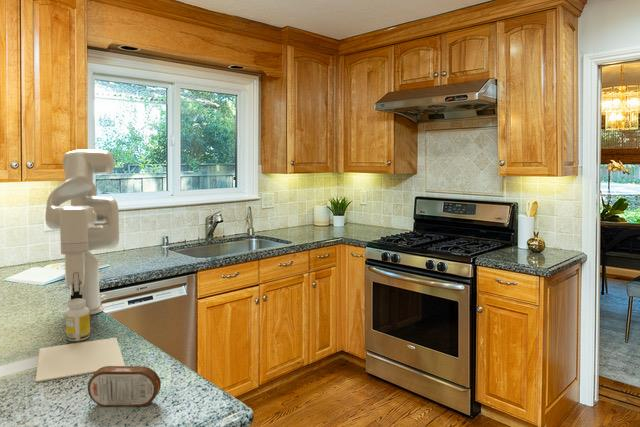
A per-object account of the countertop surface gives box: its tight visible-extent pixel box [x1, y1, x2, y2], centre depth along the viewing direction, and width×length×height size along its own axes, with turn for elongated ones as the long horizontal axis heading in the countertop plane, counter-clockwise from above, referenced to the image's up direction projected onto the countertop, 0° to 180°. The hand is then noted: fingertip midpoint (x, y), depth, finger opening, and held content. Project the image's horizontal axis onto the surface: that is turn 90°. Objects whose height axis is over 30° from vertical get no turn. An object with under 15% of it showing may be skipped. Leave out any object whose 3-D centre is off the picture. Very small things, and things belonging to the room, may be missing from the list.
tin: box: [87, 365, 162, 407], centre depth 105 cm, size 15×3×8 cm, turn 92°
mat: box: [35, 337, 126, 383], centre depth 132 cm, size 24×20×1 cm
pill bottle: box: [64, 298, 91, 342], centre depth 146 cm, size 6×6×12 cm
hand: (76, 307), depth 149 cm, fingers closed
